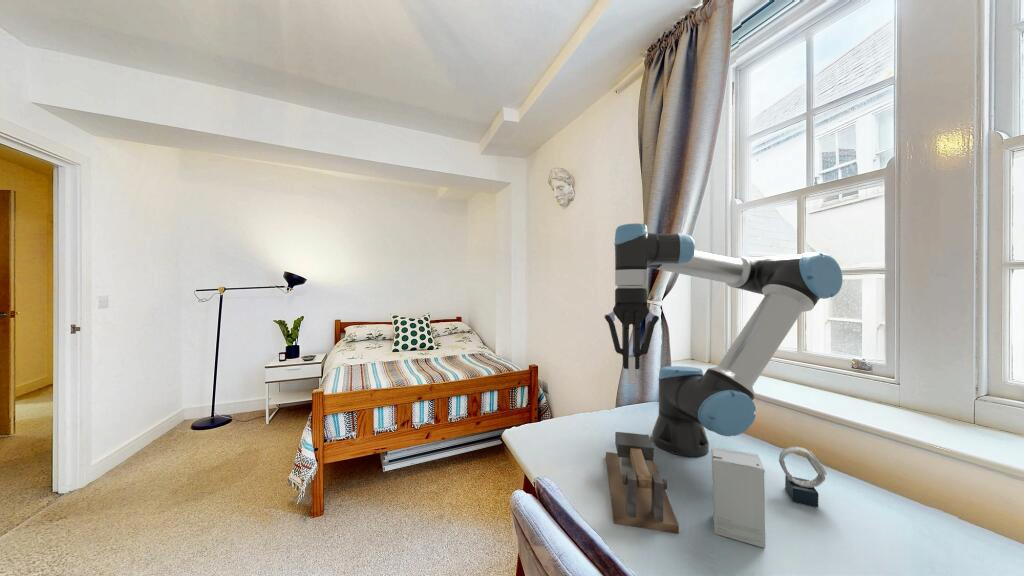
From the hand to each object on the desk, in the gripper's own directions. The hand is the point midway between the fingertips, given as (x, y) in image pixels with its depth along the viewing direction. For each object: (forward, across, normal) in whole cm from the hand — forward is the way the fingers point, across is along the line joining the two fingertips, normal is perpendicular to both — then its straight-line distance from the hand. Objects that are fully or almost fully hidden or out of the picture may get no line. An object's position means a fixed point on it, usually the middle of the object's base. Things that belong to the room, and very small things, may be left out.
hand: (630, 381), depth 83 cm
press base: (+24, 0, +6) cm, 24 cm away
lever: (+17, 0, +8) cm, 19 cm away
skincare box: (+24, -17, +16) cm, 33 cm away
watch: (+24, -36, +2) cm, 44 cm away
